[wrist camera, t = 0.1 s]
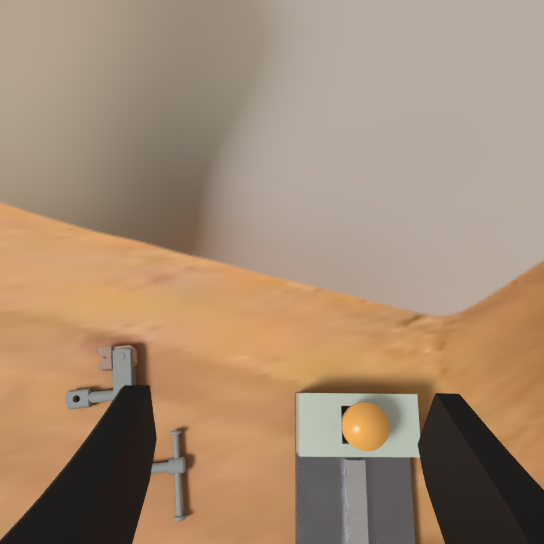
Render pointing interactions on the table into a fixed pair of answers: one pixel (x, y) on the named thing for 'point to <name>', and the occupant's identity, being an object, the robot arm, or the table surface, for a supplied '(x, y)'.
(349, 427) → the plunger
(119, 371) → the clamp
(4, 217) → the table surface
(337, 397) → the end cabinet
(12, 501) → the table surface
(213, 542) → the table surface
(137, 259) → the table surface
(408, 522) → the rail
